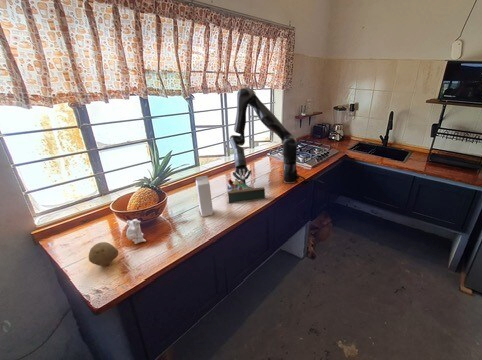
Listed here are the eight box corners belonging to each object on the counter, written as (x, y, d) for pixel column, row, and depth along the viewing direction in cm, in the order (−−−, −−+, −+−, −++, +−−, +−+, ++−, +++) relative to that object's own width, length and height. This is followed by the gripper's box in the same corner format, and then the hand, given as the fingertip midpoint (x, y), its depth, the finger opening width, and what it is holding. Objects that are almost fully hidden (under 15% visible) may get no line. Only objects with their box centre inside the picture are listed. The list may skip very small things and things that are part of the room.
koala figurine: (151, 239, 114) (145, 217, 109) (137, 247, 108) (131, 224, 103) (139, 234, 117) (133, 212, 112) (125, 242, 111) (118, 219, 107)
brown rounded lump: (86, 268, 96) (78, 248, 92) (109, 254, 104) (102, 234, 100) (102, 274, 93) (94, 253, 89) (124, 259, 101) (118, 240, 97)
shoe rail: (264, 196, 155) (263, 187, 152) (265, 198, 153) (264, 188, 150) (228, 201, 149) (227, 191, 146) (229, 203, 147) (228, 193, 144)
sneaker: (255, 199, 151) (254, 185, 147) (225, 194, 158) (223, 180, 154) (260, 194, 158) (259, 180, 154) (231, 189, 164) (230, 176, 160)
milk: (213, 214, 135) (209, 177, 126) (202, 217, 132) (196, 179, 123) (210, 209, 140) (206, 173, 131) (199, 212, 137) (194, 175, 128)
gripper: (230, 159, 160) (233, 184, 154) (250, 158, 164) (254, 182, 158) (230, 164, 167) (233, 188, 161) (249, 163, 171) (253, 186, 165)
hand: (243, 185), depth 160 cm, fingers closed
